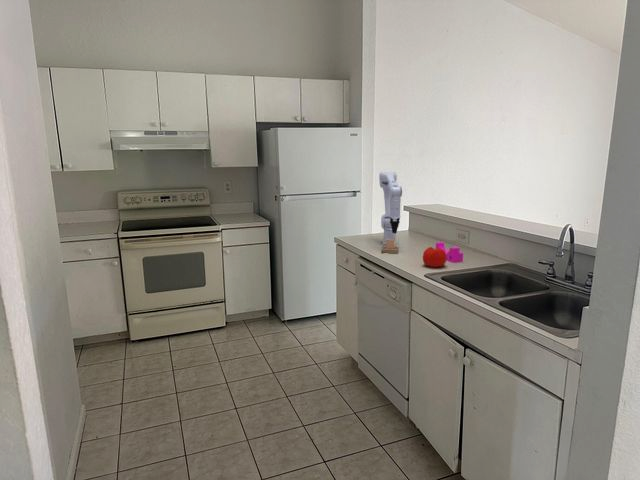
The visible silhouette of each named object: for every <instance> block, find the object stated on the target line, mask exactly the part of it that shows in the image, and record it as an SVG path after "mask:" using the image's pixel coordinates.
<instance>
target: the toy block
mask: <svg viewBox="0 0 640 480" xmlns="http://www.w3.org/2000/svg"><path fill="white" fill-rule="evenodd" d="M436 248H440V249H442V250H444V251H445V252H446V257H447V259H446V262H447V261H448V262H449V263H458V262H460V263H461V262H464V252H461V251H460V247H458V246H451V247H449V250H447V249H446V246H445V242H442V241H441V242H435V249H436Z"/></svg>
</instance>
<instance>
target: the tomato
mask: <svg viewBox="0 0 640 480" xmlns="http://www.w3.org/2000/svg"><path fill="white" fill-rule="evenodd" d="M446 259H447V257H446V252H445V251H444V250H442V249H440V248H436V247H435V248H434V247H432V246H428V247H427V248H425V250H424V252H423V255H422V262H423V264H424V265H426V266H428V267H431V268H434V269H435V268H438V267H440V268H441V267H444V266H445V264H446V263H447V260H446Z"/></svg>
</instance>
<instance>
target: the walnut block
mask: <svg viewBox="0 0 640 480" xmlns="http://www.w3.org/2000/svg"><path fill="white" fill-rule="evenodd" d="M399 250H400V247H399V246H395V249H386V245H382V247H381V254H383V253H388V254H387V255H399Z"/></svg>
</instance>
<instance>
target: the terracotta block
mask: <svg viewBox="0 0 640 480" xmlns="http://www.w3.org/2000/svg"><path fill="white" fill-rule="evenodd" d="M385 246H386V249H395V247H396V245H395V239H392V238H387V240H386V245H385Z"/></svg>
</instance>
